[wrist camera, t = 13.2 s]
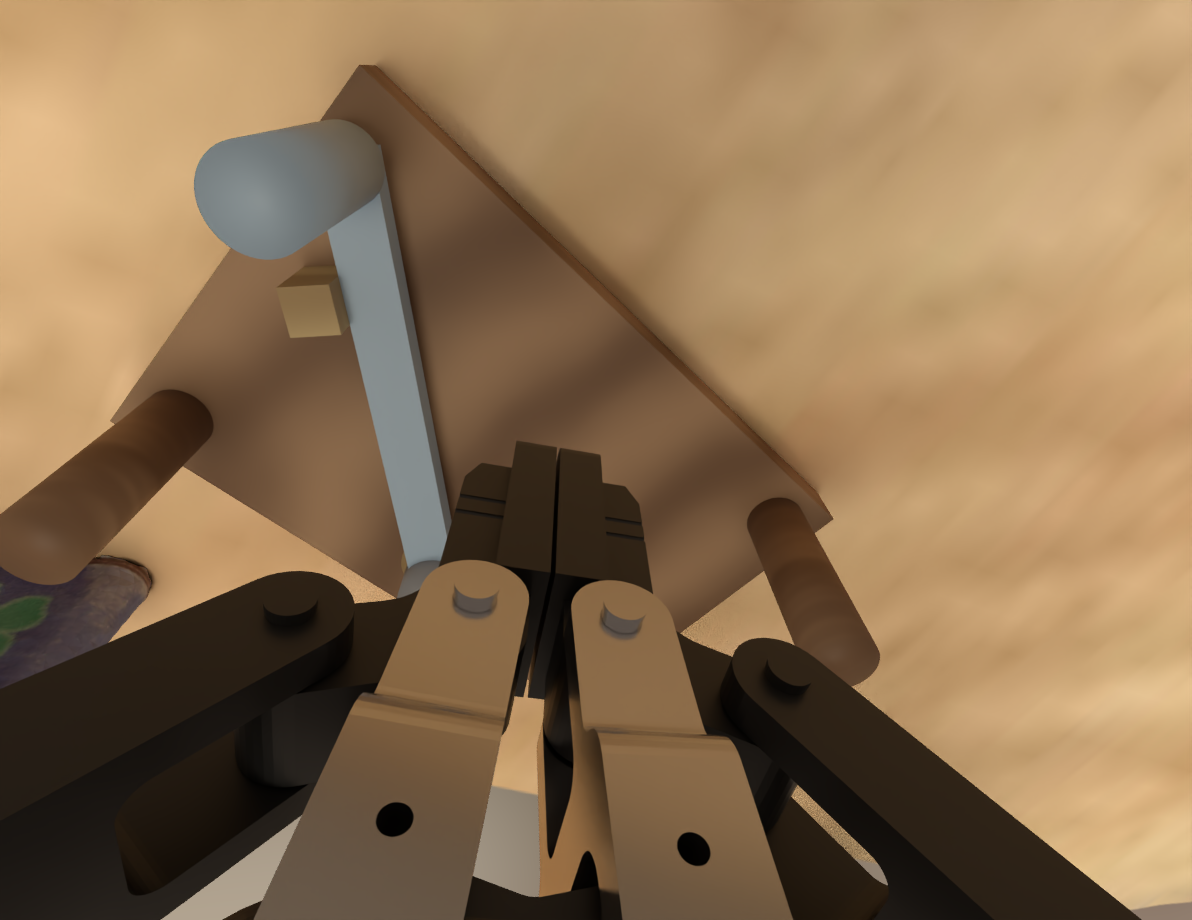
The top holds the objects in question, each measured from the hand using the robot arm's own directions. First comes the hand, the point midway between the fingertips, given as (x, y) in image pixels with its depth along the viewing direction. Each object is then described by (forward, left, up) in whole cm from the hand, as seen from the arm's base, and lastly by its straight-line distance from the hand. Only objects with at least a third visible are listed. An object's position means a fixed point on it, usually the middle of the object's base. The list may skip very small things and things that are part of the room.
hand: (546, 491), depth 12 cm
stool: (-3, +7, -15) cm, 17 cm away
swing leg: (+1, +7, -13) cm, 14 cm away
